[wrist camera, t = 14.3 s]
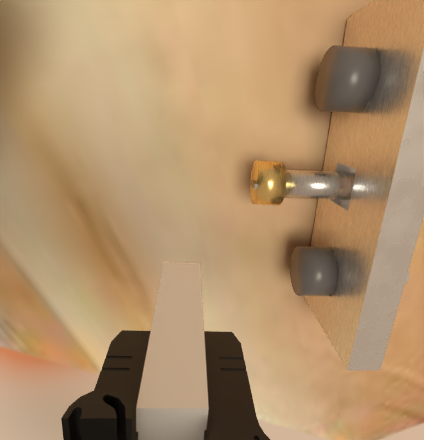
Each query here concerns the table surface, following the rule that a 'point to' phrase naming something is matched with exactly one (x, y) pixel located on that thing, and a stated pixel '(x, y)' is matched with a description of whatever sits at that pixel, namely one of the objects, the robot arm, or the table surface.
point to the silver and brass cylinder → (296, 183)
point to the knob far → (314, 271)
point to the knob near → (346, 79)
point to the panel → (375, 187)
